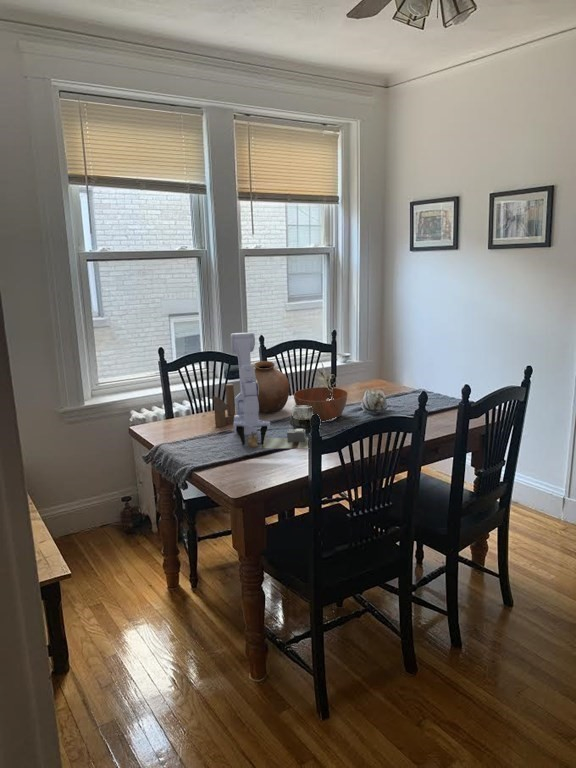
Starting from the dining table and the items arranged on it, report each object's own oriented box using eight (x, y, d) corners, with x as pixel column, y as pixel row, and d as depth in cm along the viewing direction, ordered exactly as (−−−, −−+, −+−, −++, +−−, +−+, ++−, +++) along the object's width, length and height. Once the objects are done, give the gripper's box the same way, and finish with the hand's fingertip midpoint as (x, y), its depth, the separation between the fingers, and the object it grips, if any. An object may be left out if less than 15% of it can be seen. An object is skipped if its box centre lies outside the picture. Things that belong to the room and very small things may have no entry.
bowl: (351, 410, 274) (350, 387, 271) (344, 427, 250) (344, 401, 247) (300, 409, 279) (299, 386, 277) (289, 425, 256) (288, 400, 253)
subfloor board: (259, 451, 225) (259, 448, 225) (264, 440, 237) (263, 438, 236) (309, 451, 223) (309, 448, 222) (312, 440, 234) (311, 438, 234)
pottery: (267, 403, 292) (264, 355, 286) (300, 411, 276) (298, 360, 270) (233, 413, 276) (230, 363, 270) (266, 422, 260) (263, 369, 254)
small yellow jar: (248, 450, 227) (247, 433, 225) (249, 446, 230) (248, 430, 228) (257, 450, 226) (256, 433, 225) (258, 446, 230) (257, 430, 228)
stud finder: (287, 442, 230) (287, 431, 229) (288, 438, 234) (288, 428, 233) (304, 442, 229) (304, 431, 228) (305, 438, 234) (305, 428, 233)
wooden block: (215, 426, 258) (212, 387, 254) (232, 420, 266) (229, 382, 262) (220, 427, 256) (218, 389, 252) (237, 421, 264) (235, 383, 260)
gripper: (231, 414, 221) (233, 447, 225) (267, 414, 220) (269, 447, 223) (234, 409, 228) (236, 441, 231) (270, 409, 227) (272, 441, 230)
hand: (253, 444), depth 228 cm, fingers open, 7 cm apart
